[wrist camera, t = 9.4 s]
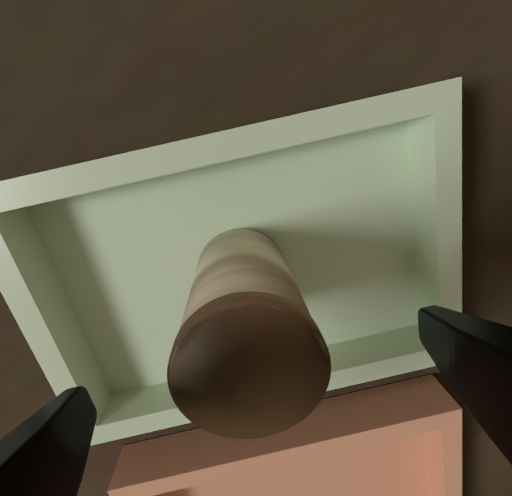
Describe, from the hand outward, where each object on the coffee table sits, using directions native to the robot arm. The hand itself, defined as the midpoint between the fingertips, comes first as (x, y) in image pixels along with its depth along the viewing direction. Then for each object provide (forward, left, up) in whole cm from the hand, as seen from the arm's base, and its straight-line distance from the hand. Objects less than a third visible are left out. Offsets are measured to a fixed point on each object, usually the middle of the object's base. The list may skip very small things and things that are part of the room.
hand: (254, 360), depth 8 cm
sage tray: (0, 0, -7) cm, 7 cm away
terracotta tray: (-15, 0, -7) cm, 17 cm away
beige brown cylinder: (0, 0, -6) cm, 7 cm away
